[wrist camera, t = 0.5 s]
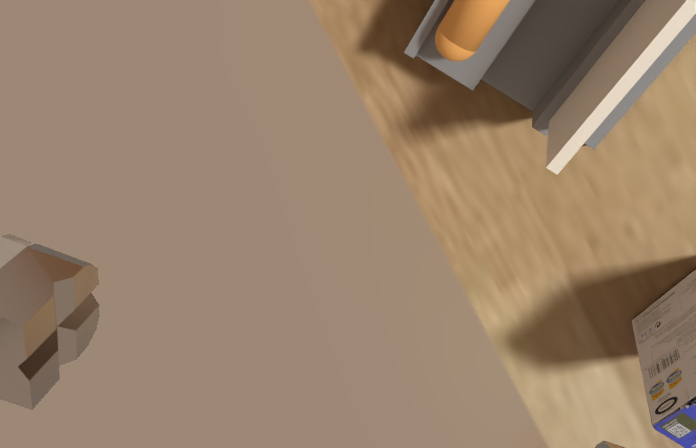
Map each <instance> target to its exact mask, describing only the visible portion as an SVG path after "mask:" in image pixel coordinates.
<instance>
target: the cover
mask: <svg viewBox="0 0 696 448" xmlns="http://www.w3.org/2000/svg"><path fill="white" fill-rule="evenodd" d="M695 14H696V0H645V2H644V3H643V4H642V5H641V7H640V8H639V9H638V10H637V12H636V13H635V14H634V15H633V17H632V18H631V19H630V20H629V22H628V23H627V24H626V26H625V27H624V28H623V29H622V31H621V32H620V33H619V34H618V36H617V37H616V38H615V39H614V41H613V42H612V43H611V44H610V46H609V47H608V48H607V49H606V51H605V52H604V53H603V54H602V56H601V57H600V58H599V59H598V61H597V62H596V63H595V64H594V66H593V67H592V68H591V69H590V71H589V72H588V73H587V74H586V76H585V77H584V78H583V79H582V81H581V82H580V83H579V84H578V86H577V87H576V88H575V89H574V91H573V92H572V93H571V94H570V96H569V97H568V98H567V99H566V101H565V102H564V103H563V104H562V106H561V107H560V108H559V109H558V111H557V112H556V113H555V114H554V116H553V117H552V118H551V119H550V121H549V130H548V146H547V162H546V168H547V169H549V170H551V171H552V172H554V173H555V174H558V173H559V172H560V171H561V170H562V168H563V167H564V166H565V165H566V164H567V163H568V161H569V160H570V159H571V158H572V157H573V156H574V154H575V153H576V152H577V151H578V150H579V149H580V147H581V146H582V145H583V144H584V143H585V142H586V140H587V139H588V138H589V137H590V136H591V135H592V134H593V132H594V131H595V130H596V129H597V128H598V127H599V125H600V124H601V123H602V122H603V121H604V120H605V118H606V117H607V116H608V115H609V114H610V113H611V111H612V110H613V109H614V108H615V107H616V106H617V104H618V103H619V102H620V101H621V100H622V99H623V97H624V96H625V95H626V94H627V93H628V92H629V90H630V89H631V88H632V87H633V86H634V85H635V83H636V82H637V81H638V80H639V79H640V78H641V76H642V75H643V74H644V73H645V72H646V71H647V69H648V68H649V67H650V66H651V65H652V64H653V62H654V61H655V60H656V59H657V58H658V57H659V56H660V54H661V53H662V52H663V51H664V50H665V49H666V47H667V46H668V45H669V44H670V43H671V42H672V40H673V39H674V38H675V37H676V36H677V35H678V33H679V32H680V31H681V30H682V29H683V28H684V26H685V25H686V24H687V23H688V22H689V21H690V19H691V18H692V17H693V16H694V15H695Z"/></svg>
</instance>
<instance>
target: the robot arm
mask: <svg viewBox="0 0 696 448" xmlns="http://www.w3.org/2000/svg"><path fill="white" fill-rule="evenodd" d="M98 285H99V280H98V268H97V267H95V266H94V265H92V264H90V263H87V262H85V261H82V260H79V259H77V258H74V257H71V256H69V255H66V254H63V253H61V252H58V251H55V250H53V249H50V248H47V247H44V246H42V245H39V244H35V243H32V242H30V241H27V240H24V239H22V238H19V237H16V236H14V235H11V234H8V235H3V236H0V399H2V400H5V401H8V402H11V403H14V404H16V405H19V406H22V407H25V408H28V409H31V410H33V408H35V406H36V405H37V404H38V403H39V402H40V401H41V399H42V398H43V397H44V396H45V395H46V394H47V393H48V392H49V390H50V389H51V388H52V387H53V386H54V385H55V384H56V383H57V381H58V380H59V379H60V375H59V373H60V372H59V366H60V365H63V364H65V363H68V362H70V361H73V360H76V359H77V358H78V357H79V356H80V355H81V354H82V352H83V351H84V350H85V349H86V348H87V346H88V345H89V342H90V341H91V339H92V337H93V335H94V333H95V331H96V328H97V324H98V319H99V304H98V302H97V301H96V299H95V298H94V296H93V295H92V293H91V292H92V291H93V290H94V289H95V288H96V287H97V286H98ZM595 448H624V447H621V446H618V445H616V444H613V443H610V442H607V441H602V442H601V443H599V444H597V445H596V447H595Z"/></svg>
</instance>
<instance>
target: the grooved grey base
mask: <svg viewBox="0 0 696 448" xmlns="http://www.w3.org/2000/svg"><path fill="white" fill-rule="evenodd" d="M453 2H454V0H435V1H434V2H433V4H432V6H431V8H430V9H429V11H428V13H427V14H426V16H425V18H424V19H423V21H422V23H421V24H420V26H419V28H418V30H417V31H416V33H415V35H414V36H413V38H412V40H411V41H410V43H409V45H408V46H407V48H406V50H405V52H404V53H405V54H407V55H408V56H410V57H412V58H413V59H414V57H415V56H417V57H419V58H421V59H422V60H424V61H426V62H427V63H429V64H430V65H432V66H434V67H435V68H437V69H439V70H440V71H442V72H443V73H445V74H447V75H448V76H450V77H452V78H453V79H455V80H456V81H458V82H460V83H461V84H463V85H465V86H466V87H468V88H469V89H471V90H474V88H475V87H476V86H477V84H478V83H479V81H480V80H482V81H484V82H485V83H487V84H489V85H490V86H492V87H494V88H495V89H497V90H498V91H500V92H502V93H503V94H505V95H506V96H508V97H510V98H511V99H513V100H515V101H516V102H518V103H519V104H521V105H523V106H524V107H526V108H528V109H529V110H531V111H532V112H533V117H532V127H533V128H534V129H536V130H538V131H539V132H541V133H542V134H544V135H547V134H548V130H549V121H550V119H551V118H552V117H553V116H554V114H555V113H556V112H557V111H558V109H559V108H560V107H561V106H562V104H563V103H564V102H565V101H566V99H567V98H568V97H569V96H570V94H571V93H572V92H573V91H574V89H575V88H576V87H577V86H578V84H579V83H580V82H581V81H582V79H583V78H584V77H585V76H586V74H587V73H588V72H589V71H590V69H591V68H592V67H593V66H594V64H595V63H596V62H597V61H598V59H599V58H600V57H601V56H602V54H603V53H604V52H605V51H606V49H607V48H608V47H609V46H610V44H611V43H612V42H613V41H614V39H615V38H616V37H617V36H618V34H619V33H620V32H621V31H622V29H623V28H624V27H625V26H626V24H627V23H628V22H629V20H630V19H631V18H632V17H633V15H634V14H635V13H636V12H637V10H638V9H639V8H640V7H641V5H642V4H643V3H644V2H645V0H510V1H509V3H508V4H507V6H506V7H505V9H504V10H503V12H502V13H501V15H500V16H499V18H498V19H497V21H496V22H495V24H494V25H493V27H492V28H491V30H490V31H489V33H488V34H487V36H486V37H485V39H484V40H483V42H482V43H481V45H480V46H479V48H478V49H477V51H476V52H475V53H474V54H473V55H472V56H471V57H470V58H468V59H466V60H463V61H450V60H448V59H446V58H444V57H443V56H442V55H441V54H440V53H439V51H438V50H437V47H436V43H435V35H436V31H437V29H438V27H439V25H440V23H441V22H442V20H443V18H444V17H445V15H446V13H447V12H448V10H449V8H450V7H451V5H452V4H453ZM695 33H696V14H695V15H694V16H693V17H692V18H691V19H690V21H689V22H688V23H687V24H686V25H685V26H684V28H683V29H682V30H681V31H680V32H679V33H678V35H677V36H676V37H675V38H674V39H673V40H672V42H671V43H670V44H669V45H668V46H667V47H666V49H665V50H664V51H663V52H662V53H661V54H660V56H659V57H658V58H657V59H656V60H655V61H654V62H653V64H652V65H651V66H650V67H649V68H648V69H647V71H646V72H645V73H644V74H643V75H642V76H641V78H640V79H639V80H638V81H637V82H636V83H635V85H634V86H633V87H632V88H631V89H630V90H629V92H628V93H627V94H626V95H625V96H624V97H623V99H622V100H621V101H620V102H619V103H618V104H617V106H616V107H615V108H614V109H613V110H612V111H611V113H610V114H609V115H608V116H607V117H606V118H605V120H604V121H603V122H602V123H601V124H600V125H599V127H598V128H597V129H596V130H595V131H594V132H593V134H592V135H591V136H590V137H589V138H588V139H587V140H586V142H585V143H584V144H586V145H587V146H589V147H591V148H592V149H595V147H596V146H597V145H598V144H599V143H600V142H601V141H602V139H603V138H604V137H605V136H606V135H607V134H608V133H609V131H610V130H611V129H612V128H613V127H614V126H615V125H616V123H617V122H618V121H619V120H620V119H621V118H622V117H623V115H624V114H625V113H626V112H627V111H628V110H629V109H630V107H631V106H632V105H633V104H634V103H635V102H636V101H637V99H638V98H639V97H640V96H641V95H642V94H643V93H644V91H645V90H646V89H647V88H648V87H649V86H650V85H651V83H652V82H653V81H654V80H655V79H656V78H657V77H658V75H659V74H660V73H661V72H662V71H663V70H664V69H665V68H666V66H667V65H668V64H669V63H670V62H671V61H672V60H673V58H674V57H675V56H676V55H677V54H678V53H679V52H680V50H681V49H682V48H683V47H684V46H685V45H686V44H687V42H688V41H689V40H690V39H691V38H692V37H693V36H694V34H695Z"/></svg>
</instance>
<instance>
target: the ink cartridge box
mask: <svg viewBox="0 0 696 448" xmlns="http://www.w3.org/2000/svg"><path fill="white" fill-rule="evenodd" d="M632 326H633V331H634V336H635V341H636V346H637V351H638V356H639V361H640V366H641V371H642V375H643V380H644V386H645V391H646V396H647V401H648V406H649V411H650V417H651V422H652V426H653V427H654V429H655V430H657V431H659V432H660V433H662V434H664V435H665V436H667V437H668V438H670V439H672V440H673V441H675V442H676V443H678V444H680V445H681V446H683V447H684V448H696V269H695V270H694V271H693V272H692V273H691V274H689V275H688V276H687V277H686V278H684V279H683V280H682V281H681V282H679V283H678V284H677V285H675V286H674V287H673V288H672V289H671V290H669V291H668V292H667V293H665V294H664V295H663V296H662V297H661V298H659V299H658V300H657V301H656V302H654V303H653V304H652V305H651V306H649V307H648V308H647V309H646V310H644V311H643V312H642V313H641V314H640V315H638V316H637V317H636V318H634V319H633V320H632Z"/></svg>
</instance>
